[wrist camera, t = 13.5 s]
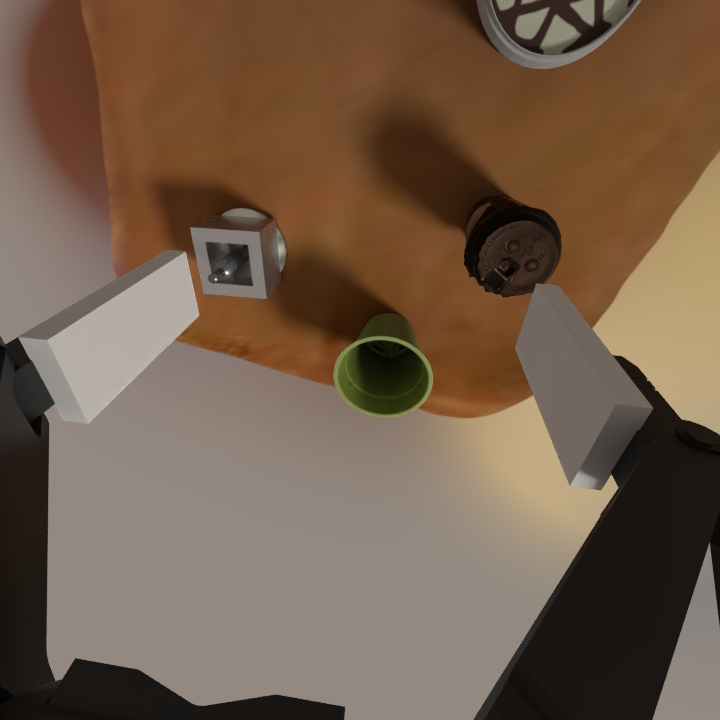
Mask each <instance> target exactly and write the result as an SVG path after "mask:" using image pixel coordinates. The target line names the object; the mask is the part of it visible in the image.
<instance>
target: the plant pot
mask: <svg viewBox="0 0 720 720" xmlns="http://www.w3.org/2000/svg"><path fill="white" fill-rule="evenodd" d="M375 345H377V346H378V347H379V348H381V349H383V351H379V350H377V349H376V348H374V346H375ZM402 345H404V346H405V347H404V348H402V349H400V346H402ZM395 352H396V353H395ZM333 378H334V383H335V386H336V389H337V391H338V393H339V394H340V396H341V397H342V398H343V399H344V400H345V402H347V403H348V404H349V405H350V406H351V407H353V408H354V409H356V410H358V411H360V412H362V413H364V414H367V415H370V416H375V417H397V416H401V415H405V414H407V413H410V412H412V411H414V410H415V409H417V408H418V407H419V406H420V405H422V404H423V403H424V401H425V400H426V399H427V397H428V396H429V394H430V392H431V389H432V385H433V374H432V370H431V367H430V364H429V362H428V360H427V359H426V357H425V356H424V355H423V353H422V352H421V351H420V350H419V347H418V344H417V341H416V337H415V334H414V331H413V328H412V326H411V324H410V323H409V322H408V321H407V320H406V319H405V318H404V317H402V316H400V315H398V314H395V313H384V314H379V315H376V316H374V317H373V318H371V319H370V320H369V321H368V322H367V324H366V325H365V327H364V328H363V330H362V331H361V333H360V334H359V336H358V337H357V339H356V340H355V342H353V343H351V344H350V345H349V346H347V347H346V348H345V349H344V350H343V351H342V352H341V354H340V355H339V356H338V358H337V360H336V363H335V366H334V371H333Z"/></svg>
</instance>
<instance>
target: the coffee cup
mask: <svg viewBox="0 0 720 720" xmlns="http://www.w3.org/2000/svg"><path fill="white" fill-rule="evenodd" d="M561 247H562V244H561V234H560V231H559V228H558V226H557V223H556V221H555V220H554V219H553V218H552V217H551V216H550V215H549V214H548V213H547V212H545V211H544V210H541V209H536V208H532V207H528V206H527V205H524V204H523V203H520V202H518V201H516V200H514V199H512V198H510V197H506V196H500V195H493V196H487V197H485V198H483V199H482V200H480V201H479V202H478V203H477V204H475V205H474V206H473V208H472V209H471V211H470V212H469V215H468V218H467V222H466V248H465V253H464V259H465V261H464V265H465V266H466V268H467V270H468V273H469V274H470V275H469V277H475V278H476V280H477V282H478V284H479V285H481V286H484V288H485V291H486V292H493V293H494V294H497V295H498V294H501V295H502V297H509V296H516V295H524V294H526V293H533V292H534V289H535V286H536V283H537V284H545V283H546V281H547V280H548V279H549V278H550V277H551V275H552V274H553V272H554V271H555V269H556V267H557V265H558V262H559V260H560V257H561Z"/></svg>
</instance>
